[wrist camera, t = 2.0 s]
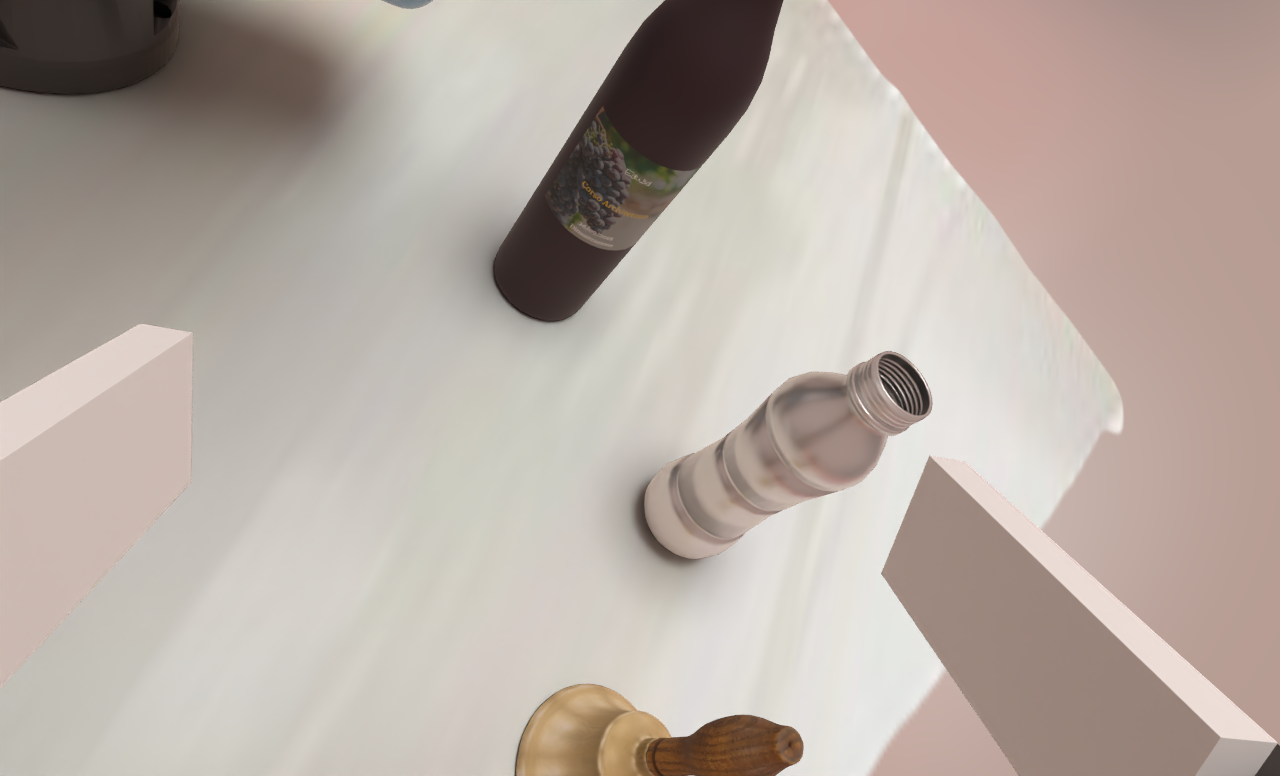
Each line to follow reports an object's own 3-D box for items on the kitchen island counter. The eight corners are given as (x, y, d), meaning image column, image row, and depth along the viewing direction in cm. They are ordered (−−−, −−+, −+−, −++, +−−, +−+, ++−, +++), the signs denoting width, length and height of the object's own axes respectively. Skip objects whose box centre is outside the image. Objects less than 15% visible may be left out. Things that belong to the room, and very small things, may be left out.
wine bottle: (472, 274, 50) (743, -172, 28) (525, 226, 54) (792, -189, 32) (551, 341, 50) (875, -39, 29) (597, 288, 55) (904, -73, 33)
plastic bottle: (703, 585, 48) (956, 474, 33) (618, 537, 46) (846, 397, 31) (722, 503, 52) (955, 372, 37) (644, 457, 50) (857, 300, 35)
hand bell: (674, 733, 42) (884, 693, 30) (618, 893, 36) (848, 920, 25) (560, 655, 41) (734, 581, 29) (484, 809, 35) (661, 795, 23)
